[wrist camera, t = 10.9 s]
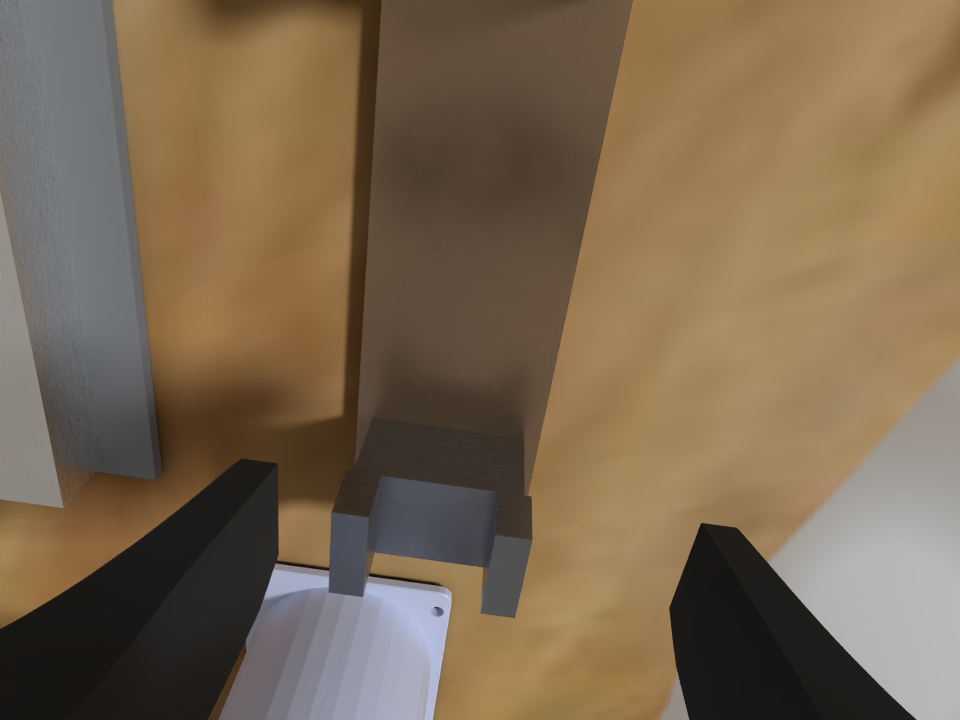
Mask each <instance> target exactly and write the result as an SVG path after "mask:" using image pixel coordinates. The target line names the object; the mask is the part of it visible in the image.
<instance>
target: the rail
mask: <svg viewBox="0 0 960 720" xmlns="http://www.w3.org/2000/svg"><path fill="white" fill-rule="evenodd" d="M103 463H104V461H103V455H102V448H101V442H100V436H99V429H98V423H97V417H96V410H95V404H94V398H93V391H92V385H91V379H90V372H89V366H88V360H87V353H86V347H85V341H84V334H83V328H82V322H81V315H80V309H79V303H78V296H77V290H76V284H75V277H74V271H73V265H72V258H71V252H70V246H69V239H68V233H67V227H66V220H65V214H64V208H63V201H62V195H61V189H60V182H59V176H58V170H57V163H56V157H55V151H54V144H53V138H52V132H51V125H50V119H49V113H48V107H47V100H46V94H45V88H44V81H43V75H42V69H41V62H40V56H39V50H38V43H37V37H36V31H35V24H34V18H33V12H32V5H31V0H0V499H1V500H8V501H16V502H23V503H30V504H37V505H45V506H52V507H59V508H64V507H65V506H66V505H67V504H68V503H69V501H70V500H71V499H72V498H73V497H74V496H75V495H76V494H77V492H78V491H79V490H80V489H81V488H82V487H83V486H84V485H85V483H86V482H87V481H88V480H89V479H90V478H91V477H92V476H93V474H94V473H95V472H96V471H97V470H98V469H99V468H100V467H101V465H102V464H103Z"/></svg>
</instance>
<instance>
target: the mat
mask: <svg viewBox="0 0 960 720" xmlns="http://www.w3.org/2000/svg"><path fill="white" fill-rule="evenodd" d="M31 5H32V12H33V18H34V24H35V31H36V37H37V43H38V50H39V56H40V62H41V69H42V75H43V81H44V88H45V94H46V100H47V107H48V113H49V119H50V125H51V132H52V138H53V144H54V151H55V157H56V163H57V170H58V176H59V182H60V189H61V195H62V201H63V208H64V214H65V220H66V227H67V233H68V239H69V246H70V252H71V258H72V265H73V271H74V277H75V284H76V290H77V296H78V303H79V309H80V315H81V322H82V328H83V334H84V341H85V347H86V353H87V360H88V366H89V372H90V379H91V385H92V391H93V398H94V404H95V410H96V417H97V423H98V429H99V436H100V442H101V448H102V455H103V461H104V463H103V464H102V465H101V467H100V468H99V469H98V470H97V471H96V472H100V473H107V474H114V475H122V476H129V477H136V478H143V479H150V480H156V479H157V478H158V477H159V475H160V474H161V473H162V465H161V455H160V446H159V437H158V427H157V418H156V409H155V399H154V390H153V381H152V372H151V362H150V353H149V344H148V334H147V325H146V316H145V306H144V297H143V288H142V278H141V269H140V260H139V250H138V241H137V232H136V222H135V213H134V204H133V194H132V185H131V176H130V167H129V157H128V148H127V139H126V129H125V120H124V111H123V101H122V92H121V83H120V73H119V64H118V55H117V45H116V36H115V27H114V17H113V8H112V0H31Z"/></svg>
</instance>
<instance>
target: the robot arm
mask: <svg viewBox="0 0 960 720" xmlns="http://www.w3.org/2000/svg"><path fill="white" fill-rule="evenodd" d="M278 555H279V549H278V464H276V463H269V462H262V461H255V460H248V459H241V460H239V461H238V462H236V463H235V464H234V465H233V466H231V467H230V468H229V469H228V470H226V471H225V472H224V473H223V474H221V475H220V476H219V477H218V478H217V479H215V480H214V481H213V482H212V483H211V484H209V485H208V486H207V487H206V488H205V489H203V490H202V491H201V492H200V493H198V494H197V495H196V496H195V497H194V498H192V499H191V500H190V501H189V502H187V503H186V504H185V505H184V506H182V507H181V508H180V509H179V510H177V511H176V512H175V513H174V514H172V515H171V516H170V517H168V518H167V519H166V520H165V521H163V522H162V523H161V524H159V525H158V526H157V527H156V528H154V529H153V530H152V531H150V532H149V533H148V534H146V535H145V536H144V537H143V538H141V539H140V540H139V541H137V542H136V543H134V544H133V545H132V546H130V547H129V548H127V549H126V550H125V551H123V552H122V553H120V554H119V555H117V556H116V557H115V558H113V559H112V560H110V561H109V562H108V563H106V564H105V565H103V566H102V567H100V568H99V569H98V570H96V571H95V572H93V573H92V574H90V575H89V576H87V577H86V578H84V579H83V580H81V581H80V582H78V583H77V584H75V585H74V586H72V587H71V588H69V589H68V590H66V591H64V592H63V593H61V594H60V595H58V596H57V597H55V598H53V599H52V600H50V601H48V602H47V603H45V604H43V605H42V606H40V607H38V608H37V609H35V610H33V611H32V612H30V613H28V614H27V615H25V616H23V617H22V618H20V619H18V620H16V621H14V622H13V623H11V624H9V625H7V626H5V627H3V628H2V629H0V720H208V718H209V716H210V714H211V712H212V710H213V708H214V706H215V704H216V702H217V700H218V697H219V695H220V693H221V691H222V689H223V687H224V685H225V683H226V681H227V679H228V677H229V674H230V672H231V670H232V668H233V666H234V664H235V662H236V660H237V658H238V656H239V654H240V651H241V649H242V647H243V645H244V643H245V641H246V654H245V657H244V659H243V661H242V664H241V666H240V669H239V671H238V673H237V676H236V678H235V681H234V683H233V685H232V688H231V690H230V693H229V695H228V697H227V700H226V702H225V705H224V707H223V709H222V712H221V714H220V717H219V719H218V720H433V715H434V708H435V702H436V696H437V690H438V684H439V677H440V671H441V665H442V659H443V652H444V646H445V640H446V634H447V627H448V621H449V615H450V609H451V602H452V594H451V592H450V591H449V590H448V589H447V588H445V587H441V586H435V585H428V584H420V583H413V582H406V581H399V580H391V579H384V578H377V577H368V580H367V584H366V588H365V592H364V596H363V597H358V596H350V595H343V594H336V593H328V591H329V571H326V570H318V569H311V568H304V567H297V566H289V565H282V564H276V561H277V558H278ZM434 607H439V608H438V609H437V608H434ZM669 610H670V619H671V628H672V638H673V645H674V653H675V660H676V667H677V671H678V676H679V680H680V684H681V688H682V692H683V696H684V700H685V704H686V708H687V712H688V716H689V720H916V719H915V718H914V717H913V716H912V715H911V714H910V713H908V712H907V711H906V710H905V709H904V708H903V707H902V706H901V705H900V704H899V703H898V702H897V701H896V700H895V699H893V698H892V697H891V696H890V695H889V694H888V693H887V692H886V691H885V690H884V689H883V688H882V687H881V686H880V685H879V684H878V683H877V682H876V681H875V680H874V679H873V678H872V677H871V676H870V675H869V674H868V673H867V672H866V671H865V670H864V669H863V668H862V667H861V666H860V665H859V664H858V663H857V662H856V661H855V660H854V658H853V657H851V655H850V654H849V653H848V652H847V651H846V650H845V649H844V648H843V647H842V646H841V645H840V644H839V643H838V642H837V641H836V640H835V638H833V636H832V635H831V634H830V633H829V632H828V631H827V630H826V629H825V628H824V627H823V625H822V624H821V623H820V622H819V621H818V620H817V619H816V618H815V617H814V615H813V614H812V613H811V612H810V611H809V610H808V609H807V608H806V607H805V605H804V604H803V603H802V602H801V601H800V600H799V599H798V597H797V596H796V595H795V594H794V593H793V592H792V591H791V590H790V588H789V587H788V586H787V585H786V584H785V582H784V581H783V580H782V579H781V578H780V577H779V576H778V574H777V573H776V572H775V571H774V570H773V569H772V567H771V566H770V565H769V564H768V563H767V562H766V560H765V559H764V558H763V557H762V556H761V555H760V553H759V552H758V551H757V550H756V549H755V548H754V546H753V545H752V544H751V543H750V542H749V541H748V540H747V539H746V537H745V536H744V535H743V534H742V533H741V532H740V531H739V530H738V529H737V528H734V527H727V526H720V525H712V524H705V523H701V525H700V528H699V530H698V533H697V536H696V538H695V541H694V544H693V546H692V549H691V552H690V554H689V557H688V560H687V562H686V565H685V568H684V570H683V573H682V576H681V578H680V581H679V584H678V586H677V589H676V592H675V594H674V597H673V600H672V602H671V605H670V608H669Z"/></svg>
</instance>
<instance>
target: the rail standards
mask: <svg viewBox="0 0 960 720" xmlns="http://www.w3.org/2000/svg"><path fill="white" fill-rule="evenodd" d="M632 2H633V0H382V3H381V20H380V37H379V55H378V72H377V89H376V106H375V123H374V140H373V157H372V175H371V192H370V209H369V226H368V243H367V260H366V277H365V295H364V312H363V329H362V346H361V363H360V380H359V397H358V414H357V432H356V449H355V466H354V472H351V471H347V472H346V474H345V477H344V480H343V483H342V485H341V488H340V491H339V494H338V496H337V499H336V502H335V505H334V507H333V510H332V517H331V542H330V567H329V591H328V593H336V594H343V595H350V596H358V597H363V596H364V592H365V588H366V584H367V580H368V577H369V573H370V569H371V565H372V561H373V557H374V554H375V552H376V553H383V554H391V555H398V556H405V557H412V558H420V559H427V560H434V561H441V562H449V563H456V564H463V565H470V566H477V567H483V581H482V597H481V612H480V613H482V614H489V615H496V616H504V617H511V618H515V615H516V610H517V606H518V602H519V597H520V593H521V588H522V584H523V579H524V575H525V571H526V566H527V562H528V557H529V553H530V548H531V544H532V499H531V497H530V496H528V492H529V487H530V482H531V478H532V473H533V468H534V464H535V459H536V454H537V449H538V445H539V440H540V435H541V431H542V426H543V421H544V416H545V412H546V407H547V402H548V398H549V393H550V388H551V384H552V379H553V374H554V369H555V365H556V360H557V355H558V351H559V346H560V341H561V336H562V332H563V327H564V322H565V318H566V313H567V308H568V304H569V299H570V294H571V289H572V285H573V280H574V275H575V271H576V266H577V261H578V256H579V252H580V247H581V242H582V238H583V233H584V228H585V224H586V219H587V214H588V209H589V205H590V200H591V195H592V191H593V186H594V181H595V176H596V172H597V167H598V162H599V158H600V153H601V148H602V144H603V139H604V134H605V129H606V125H607V120H608V115H609V111H610V106H611V101H612V97H613V92H614V87H615V82H616V78H617V73H618V68H619V64H620V59H621V54H622V49H623V45H624V40H625V35H626V31H627V26H628V21H629V17H630V12H631V7H632Z"/></svg>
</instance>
